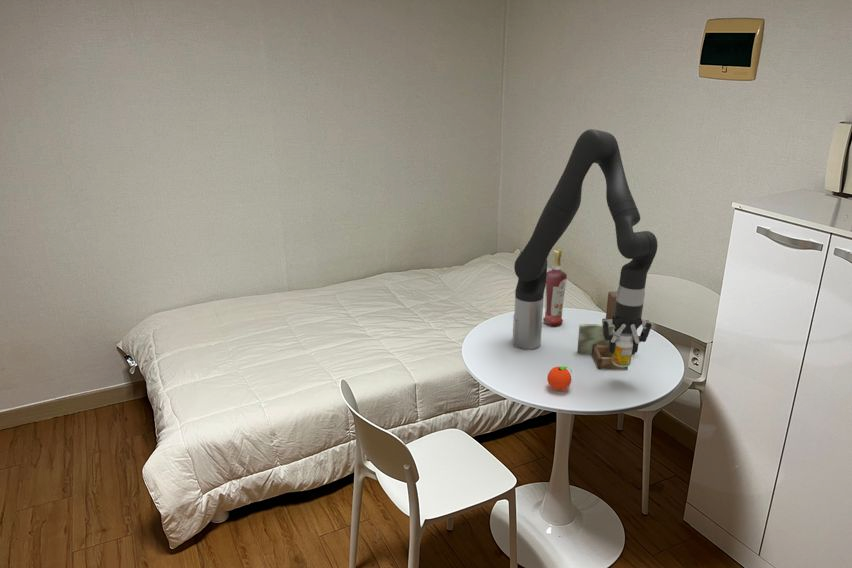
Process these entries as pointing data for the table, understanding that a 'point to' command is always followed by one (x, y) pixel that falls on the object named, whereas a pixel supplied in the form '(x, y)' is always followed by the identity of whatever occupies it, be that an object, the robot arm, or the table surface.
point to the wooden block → (611, 305)
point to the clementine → (559, 378)
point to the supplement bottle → (623, 350)
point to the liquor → (555, 291)
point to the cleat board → (596, 345)
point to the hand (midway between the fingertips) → (622, 352)
